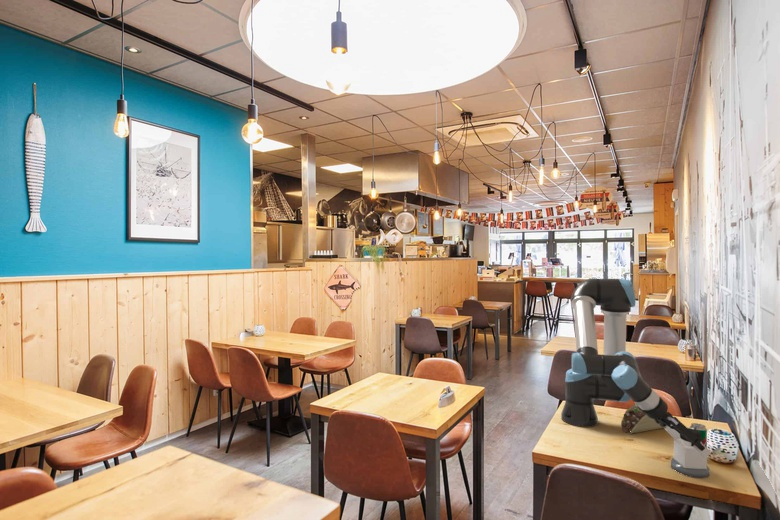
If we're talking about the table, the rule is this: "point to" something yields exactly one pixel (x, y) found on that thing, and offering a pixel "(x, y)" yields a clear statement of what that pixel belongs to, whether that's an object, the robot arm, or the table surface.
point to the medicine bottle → (688, 453)
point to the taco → (637, 421)
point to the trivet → (690, 470)
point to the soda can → (702, 431)
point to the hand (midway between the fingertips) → (692, 446)
